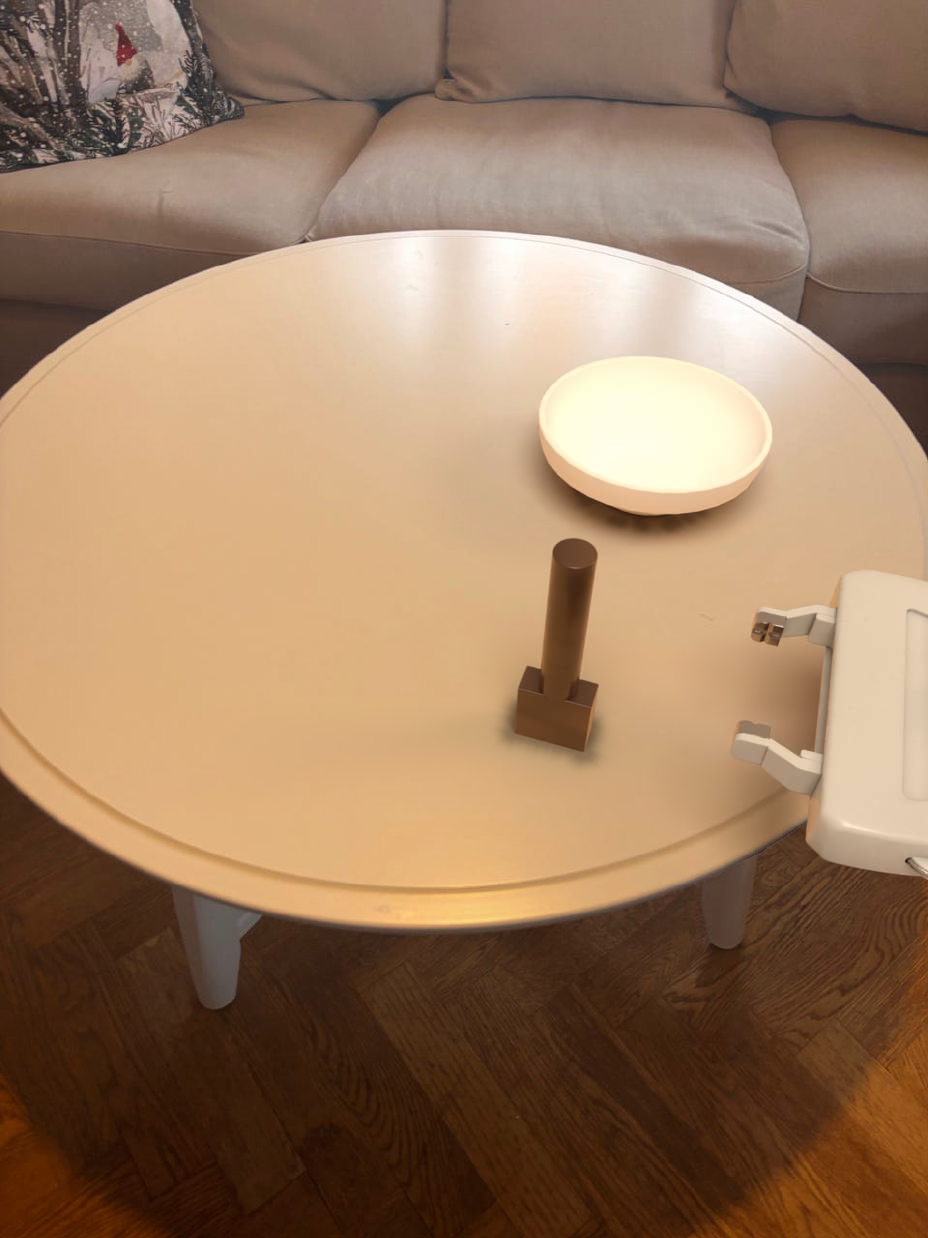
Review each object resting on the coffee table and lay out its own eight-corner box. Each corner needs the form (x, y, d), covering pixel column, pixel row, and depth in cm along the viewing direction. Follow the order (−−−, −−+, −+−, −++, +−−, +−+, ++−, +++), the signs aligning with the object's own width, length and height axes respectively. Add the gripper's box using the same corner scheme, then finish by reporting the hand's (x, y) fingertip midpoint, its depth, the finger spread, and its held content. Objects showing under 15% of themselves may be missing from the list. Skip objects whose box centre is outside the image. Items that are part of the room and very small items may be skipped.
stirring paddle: (592, 726, 68) (622, 547, 56) (583, 755, 67) (613, 577, 54) (523, 708, 69) (539, 528, 57) (513, 736, 68) (526, 557, 55)
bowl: (585, 399, 96) (593, 334, 91) (780, 458, 90) (800, 392, 84) (495, 512, 84) (498, 444, 79) (712, 589, 78) (731, 521, 73)
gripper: (976, 927, 50) (708, 851, 53) (965, 648, 64) (752, 600, 67) (1028, 865, 46) (731, 786, 49) (1005, 579, 59) (774, 530, 62)
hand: (743, 676), depth 58 cm, fingers open, 8 cm apart
